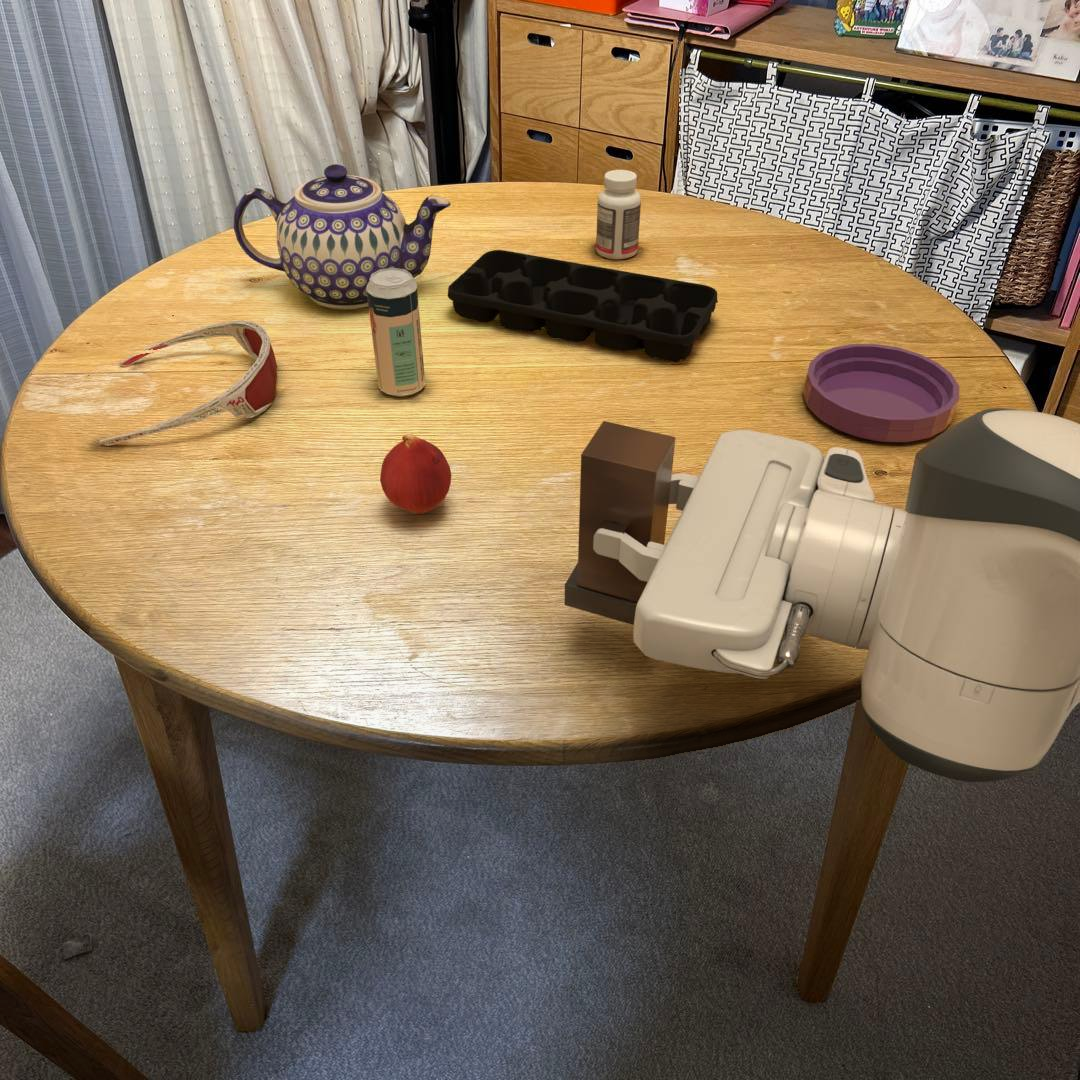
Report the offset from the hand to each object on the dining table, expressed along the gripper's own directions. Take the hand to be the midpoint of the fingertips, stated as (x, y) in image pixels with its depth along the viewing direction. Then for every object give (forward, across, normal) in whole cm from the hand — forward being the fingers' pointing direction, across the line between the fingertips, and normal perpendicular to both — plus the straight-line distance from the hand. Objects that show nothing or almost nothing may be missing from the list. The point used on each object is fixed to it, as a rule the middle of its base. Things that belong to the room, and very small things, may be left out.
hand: (611, 510), depth 63 cm
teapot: (+47, +42, -13) cm, 65 cm away
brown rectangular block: (-1, 0, -8) cm, 8 cm away
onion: (+20, +8, -13) cm, 25 cm away
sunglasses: (+49, +16, -13) cm, 54 cm away
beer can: (+31, +26, -13) cm, 42 cm away
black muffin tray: (+20, +46, -13) cm, 52 cm away
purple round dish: (-14, +41, -12) cm, 45 cm away
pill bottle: (+22, +65, -13) cm, 70 cm away
